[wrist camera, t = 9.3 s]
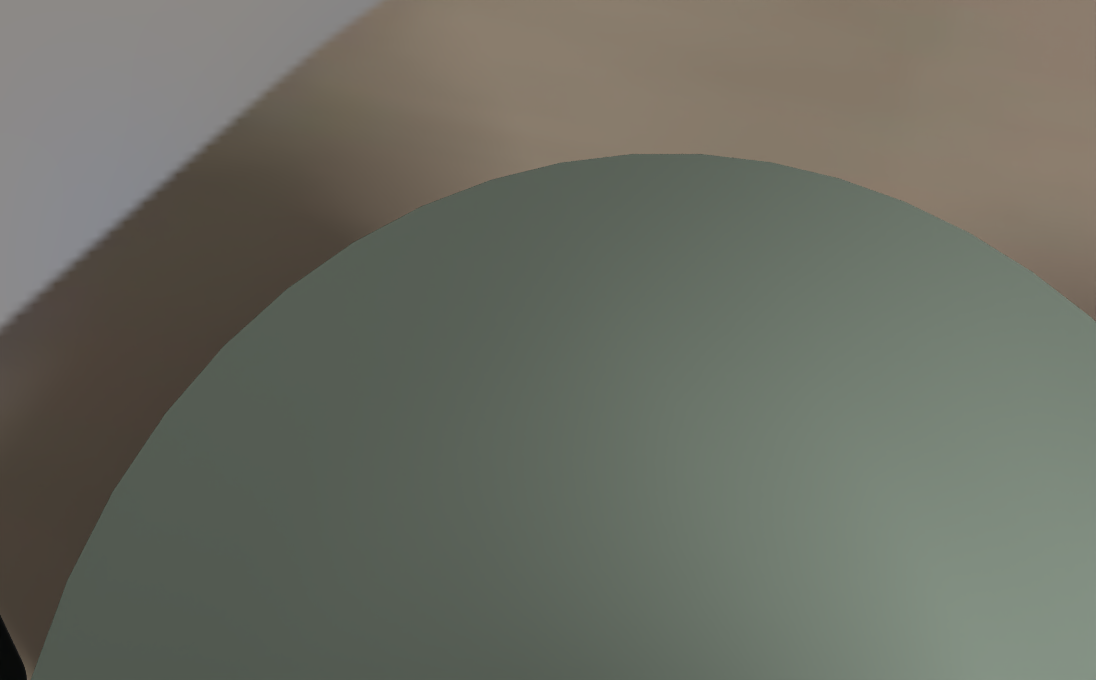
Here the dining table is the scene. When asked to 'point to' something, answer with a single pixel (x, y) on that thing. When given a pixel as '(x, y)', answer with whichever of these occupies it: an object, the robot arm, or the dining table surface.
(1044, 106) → the dining table surface
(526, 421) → the sage peg
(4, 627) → the robot arm
